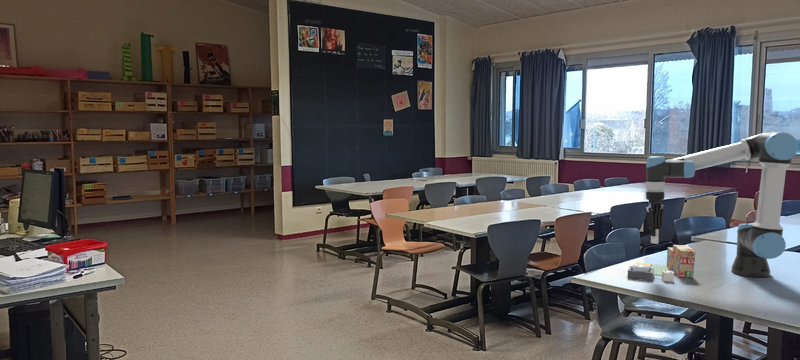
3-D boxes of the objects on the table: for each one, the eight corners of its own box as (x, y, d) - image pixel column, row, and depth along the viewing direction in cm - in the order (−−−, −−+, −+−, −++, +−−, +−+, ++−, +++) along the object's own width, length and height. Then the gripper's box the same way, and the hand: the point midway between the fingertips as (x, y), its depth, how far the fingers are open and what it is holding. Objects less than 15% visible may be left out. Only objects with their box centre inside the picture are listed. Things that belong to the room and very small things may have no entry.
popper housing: (653, 275, 255) (653, 268, 255) (652, 280, 246) (652, 272, 246) (629, 273, 260) (630, 265, 259) (627, 278, 251) (627, 270, 251)
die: (671, 279, 248) (671, 270, 248) (673, 282, 245) (674, 272, 244) (661, 279, 249) (662, 269, 249) (663, 281, 245) (664, 272, 245)
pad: (651, 264, 277) (651, 263, 277) (648, 274, 258) (648, 273, 258) (636, 263, 281) (636, 262, 281) (631, 272, 261) (631, 271, 261)
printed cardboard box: (666, 265, 273) (667, 240, 272) (680, 266, 272) (681, 241, 271) (678, 277, 252) (680, 249, 251) (693, 278, 251) (695, 250, 250)
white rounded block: (649, 274, 254) (650, 265, 254) (648, 278, 248) (649, 268, 248) (633, 272, 258) (633, 263, 257) (631, 276, 251) (631, 266, 251)
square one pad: (669, 266, 274) (669, 265, 274) (667, 276, 254) (667, 275, 254) (653, 264, 277) (653, 264, 277) (650, 274, 258) (650, 273, 257)
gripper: (655, 189, 259) (654, 240, 261) (639, 191, 252) (638, 243, 253) (671, 190, 253) (670, 242, 255) (655, 192, 246) (654, 246, 247)
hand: (654, 243), depth 254 cm, fingers closed
